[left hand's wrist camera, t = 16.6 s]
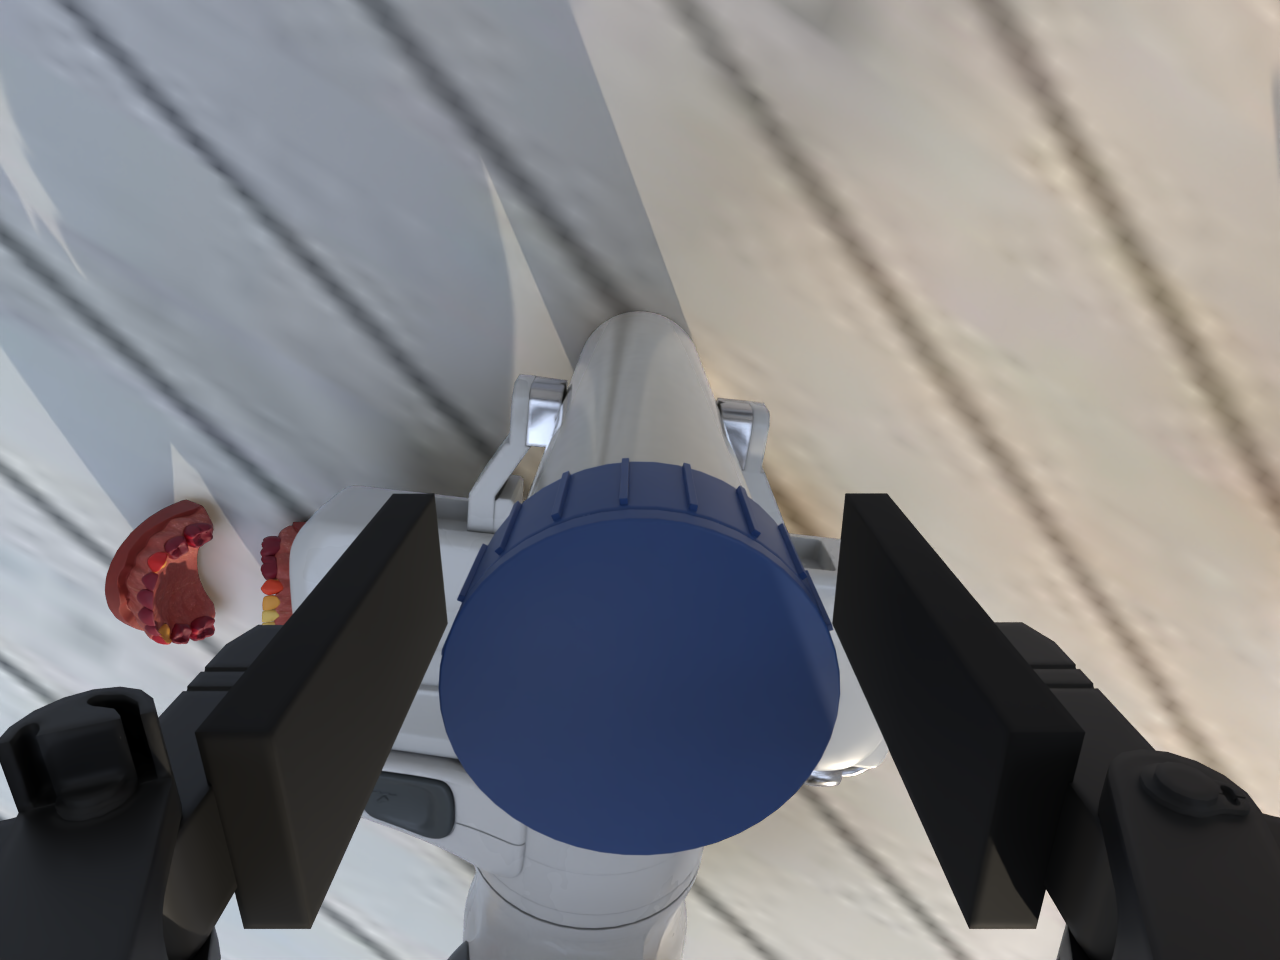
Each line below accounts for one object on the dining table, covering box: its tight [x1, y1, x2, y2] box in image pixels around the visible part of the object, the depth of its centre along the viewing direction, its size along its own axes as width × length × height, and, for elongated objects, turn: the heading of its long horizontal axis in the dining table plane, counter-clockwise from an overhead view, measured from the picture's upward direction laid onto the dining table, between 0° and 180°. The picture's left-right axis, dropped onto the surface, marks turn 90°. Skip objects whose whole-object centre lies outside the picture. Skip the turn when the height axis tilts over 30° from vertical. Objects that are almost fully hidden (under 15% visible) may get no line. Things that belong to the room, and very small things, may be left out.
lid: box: [438, 458, 840, 855], centre depth 11 cm, size 6×6×2 cm
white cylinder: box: [526, 311, 753, 500], centre depth 20 cm, size 5×5×20 cm
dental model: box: [105, 500, 306, 644], centre depth 30 cm, size 6×4×8 cm
